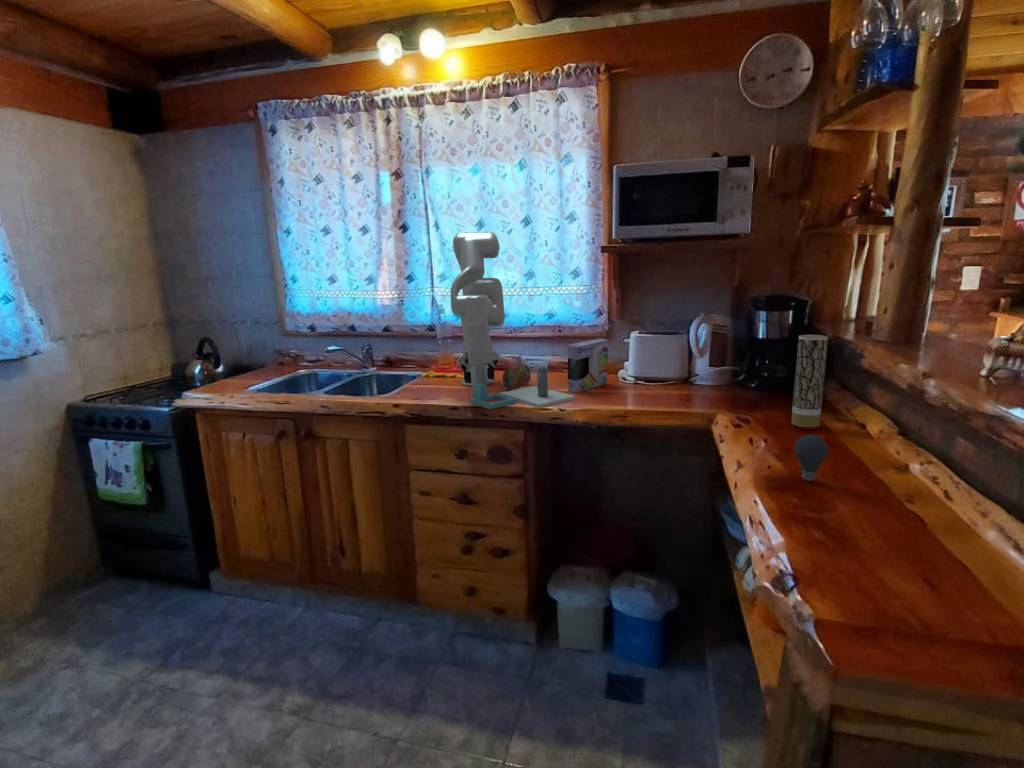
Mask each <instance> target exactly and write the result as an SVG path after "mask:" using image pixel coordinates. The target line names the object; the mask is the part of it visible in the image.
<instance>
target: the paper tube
mask: <svg viewBox="0 0 1024 768" xmlns="http://www.w3.org/2000/svg"><path fill="white" fill-rule="evenodd" d="M828 341H829V336H827V335H823V334H801V335H798V341H797V353H796V366H795V377H794V387H793V396H792V397H793V398H792V411H791V413H792V414H791V423H792V424H793V425H796V426H799V427H817V426H819V427H820V424H821V423H820V422H821V413H822V404H823V394H824V393H823V392H824V383H825V372H826V365H827V364H826V363H827V362H826V361H827V352H828V343H829V342H828ZM792 424H791V425H792ZM793 425H792V426H793Z"/></svg>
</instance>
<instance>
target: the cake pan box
mask: <svg viewBox="0 0 1024 768" xmlns="http://www.w3.org/2000/svg"><path fill="white" fill-rule="evenodd" d="M608 353H609V340H608V339H605V338H597V339H592V340H585V341H580V342H575V343H571V344H567V392H569V391H571V392H570V393H574V392H576V393H575V394H578V393H581V392H580V391H582V392H584V391H583V390H585V391H587V389H588V390H591V389H590V388H592V389H594V388H593V387H595V388H598V387H601V385H602V386H604V384H605V385H607V384H608V367H609V366H608V360H609V359H608V357H609V356H608V355H609V354H608ZM597 386H598V387H597ZM577 392H578V393H577Z"/></svg>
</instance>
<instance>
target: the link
mask: <svg viewBox="0 0 1024 768" xmlns="http://www.w3.org/2000/svg"><path fill="white" fill-rule="evenodd" d="M471 387H472V398H471V399H470V403H471V405H472V404H473V405H474V406H478V407H481V408H485V409H487V410H493V409H497V408H502V407H506V406H510V405H514V404H517V401H516V399H514V398H510V397H507V396H503V395H500V393H494V394H490V395H489V393H488V385H482V384H476V385H472V386H471ZM473 398H474V399H473ZM493 399H495V400H497V399H498V400H497V401H495V402H491V403H490V402H489V401H488V400H490V401H494V400H493ZM500 400H501V401H500ZM485 401H486V402H485Z"/></svg>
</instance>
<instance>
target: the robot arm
mask: <svg viewBox="0 0 1024 768" xmlns="http://www.w3.org/2000/svg"><path fill="white" fill-rule="evenodd" d="M499 243H500V242H499V240H498V236H497V235H496V233H494V232H492V231H491V232H488V231H485V232H484V231H483V232H482V231H481V232H463V233H459V234H456V235H455V236H454V237H453V239H452V247H453V253H454V255H455V256H454V257H455V258H456V262H457V263H458V265H459V268H460V271H461V272H460V273H459V274H458V275H457V276H456V277H455V279H454V280H453V282H452V283H451V286H450V308H451V312H452V314H453V316H455V317H458V318H459V317H460V318H459V319H460V323H461V328H462V329H461V330H462V335H463V336H462V337H463V343H462V344H463V345H462V355H461V356H459V357H458V358H457V359H456V364H457V365H458V367H459V369H461V371H462V376H463V379H462V381H461V384H462V385H464V386H469V387H472V385H476V384H482V385H486V386H488V385H491V384H493V383H494V380H495V369H496V366H497V364H498V362H499V359H500V356H501V355H500V354H498V353H496V352H494V350H493V345H492V339H491V336H490V334H489V332H491V329H492V328H494V329H495V328H501V327H503V326H504V323H505V320H506V316H505V314H506V313H505V305H504V304H505V303H504V290H503V286H502V281H501V280H500V279H499V278H496V277H484V276H485V272H486V270H485V259H496V258H497V257H499V253H500V244H499ZM461 290H462V294H461V295H459V293H460V291H461ZM487 384H488V385H487Z"/></svg>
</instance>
